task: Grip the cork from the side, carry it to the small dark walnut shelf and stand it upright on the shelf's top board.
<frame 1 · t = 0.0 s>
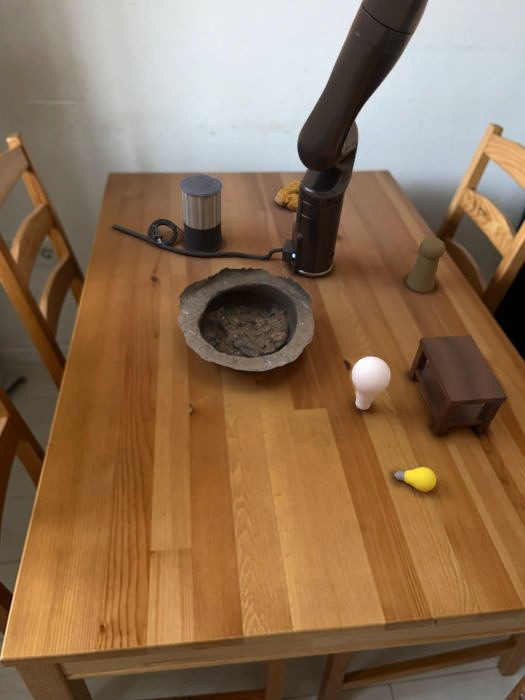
cork: (420, 284, 113), on the table
lightbulb: (361, 407, 88), on the table
milk frother: (186, 242, 121), on the table
golden lumpy piece: (295, 204, 136), on the table
stone bowl: (247, 343, 97), on the table
light bulb: (412, 483, 78), on the table
shelf: (445, 401, 89), on the table
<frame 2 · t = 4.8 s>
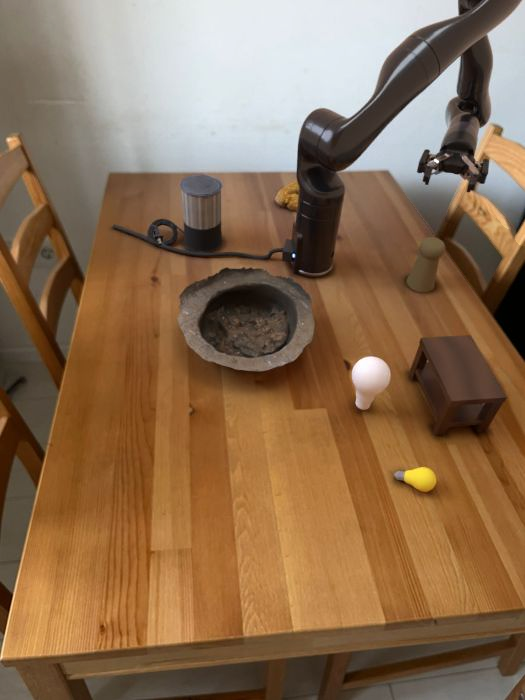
hand: (448, 184, 106), 19 cm above the table, tool horizontal, fingers open, 8 cm apart
nothing on the table moved.
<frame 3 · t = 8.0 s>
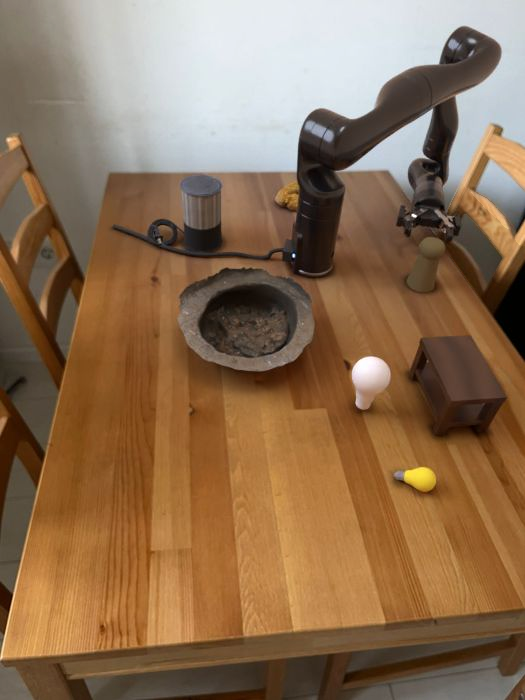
hand: (428, 236, 114), 7 cm above the table, tool horizontal, fingers open, 8 cm apart
nothing on the table moved.
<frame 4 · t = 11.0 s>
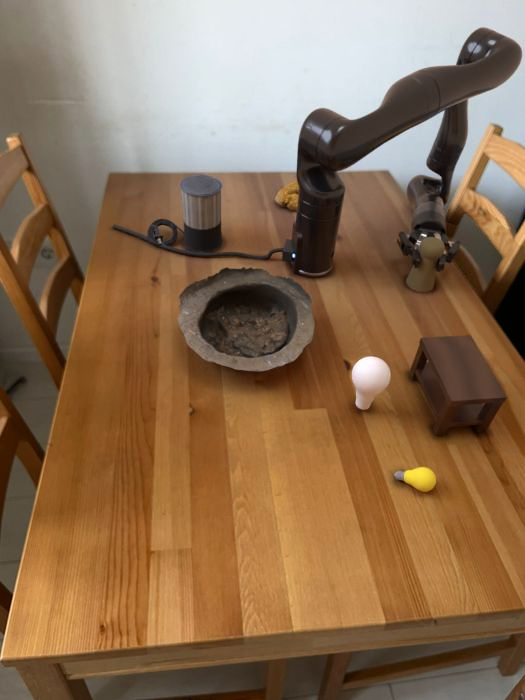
hand: (428, 266, 107), 7 cm above the table, tool horizontal, fingers closed on cork, 4 cm apart
cork: (419, 284, 113), on the table, touching gripper
everything else where it was.
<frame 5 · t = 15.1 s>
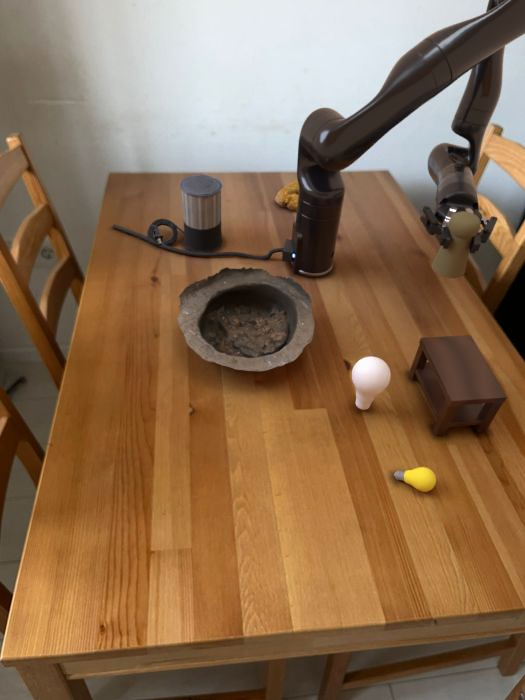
hand: (460, 246, 88), 20 cm above the table, tool horizontal, fingers closed on cork, 4 cm apart
cork: (447, 269, 95), point 13 cm above the table, touching gripper
everything else where it was.
when the fingers open (16 cm above the table, at t = 19.3 s): cork stays where it is, resting on shelf.
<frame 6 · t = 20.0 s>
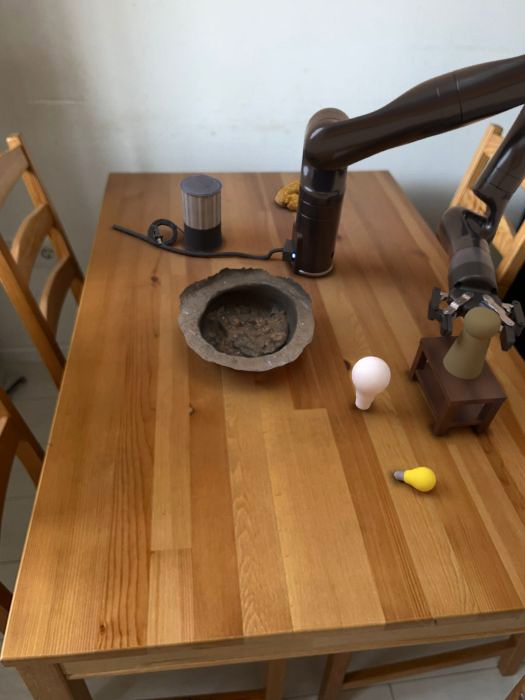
hand: (477, 341, 77), 16 cm above the table, tool horizontal, fingers open, 8 cm apart
cork: (461, 366, 83), point 9 cm above the table, touching shelf
everything else where it was.
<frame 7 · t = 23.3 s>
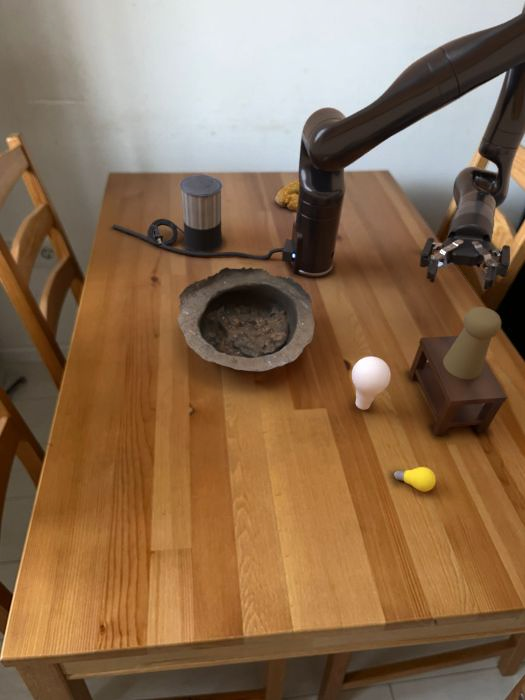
hand: (459, 281, 84), 18 cm above the table, tool horizontal, fingers open, 8 cm apart
nothing on the table moved.
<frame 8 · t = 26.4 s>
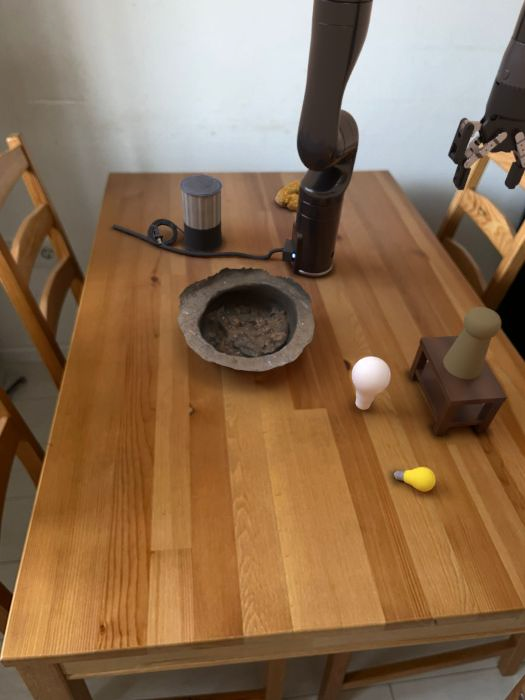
hand: (483, 187, 82), 30 cm above the table, tool pointing down, fingers open, 8 cm apart
nothing on the table moved.
at the end: cork inside the target area on the shelf (0.1 cm from its centre), point 8.8 cm above the shelf's base; cork tilted 0°; the gripper is holding nothing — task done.
